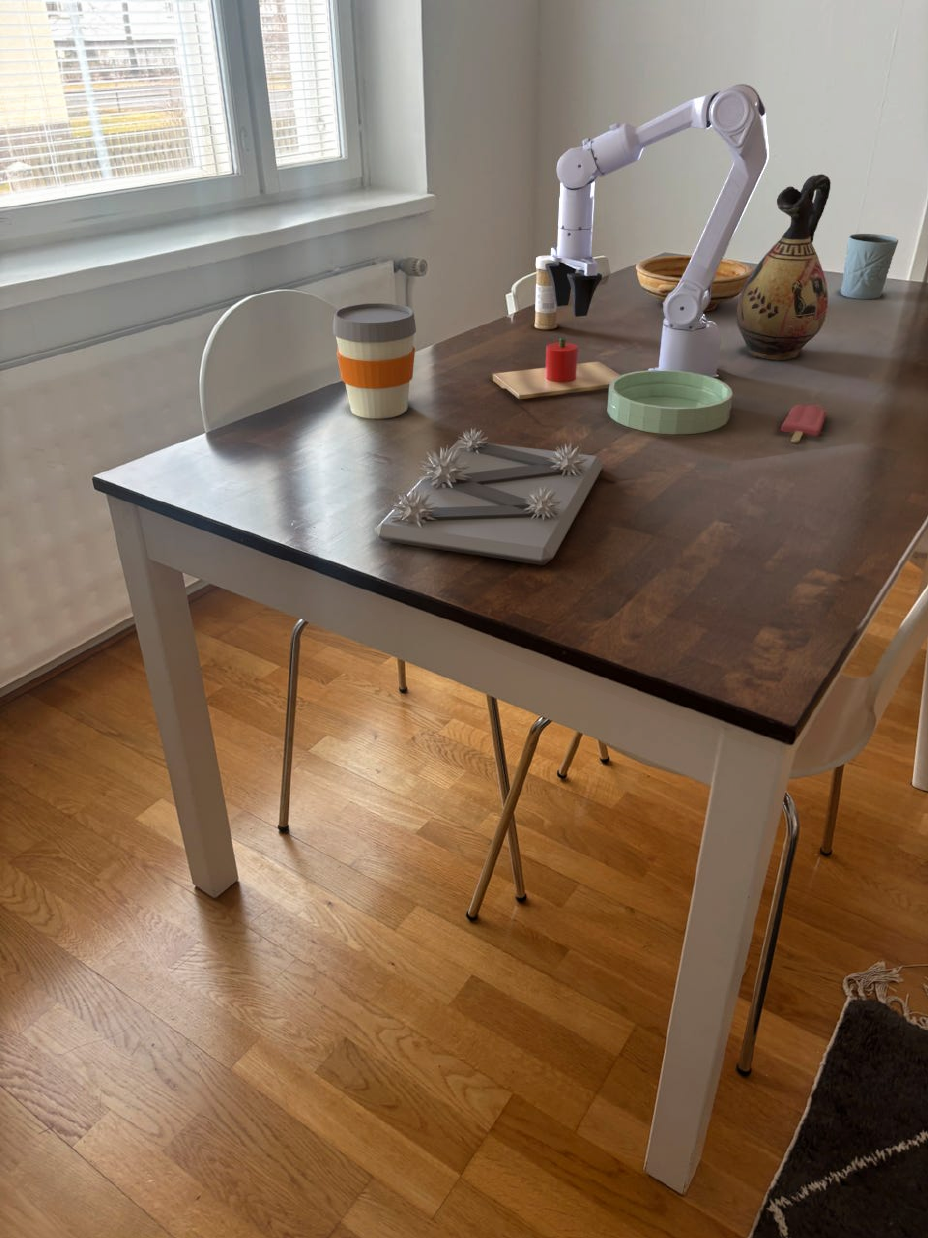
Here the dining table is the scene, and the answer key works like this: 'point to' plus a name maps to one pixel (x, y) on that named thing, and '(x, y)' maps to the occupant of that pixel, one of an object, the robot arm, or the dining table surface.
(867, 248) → the blue embossed cup
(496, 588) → the dining table surface
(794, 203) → the ceramic jug
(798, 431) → the popsicle
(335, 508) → the dining table surface
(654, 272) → the ceramic bowl
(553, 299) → the sprinkles bottle
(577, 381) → the cutting board
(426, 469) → the decorative plate
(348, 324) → the reusable coffee cup
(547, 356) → the pepper
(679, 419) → the bowl
